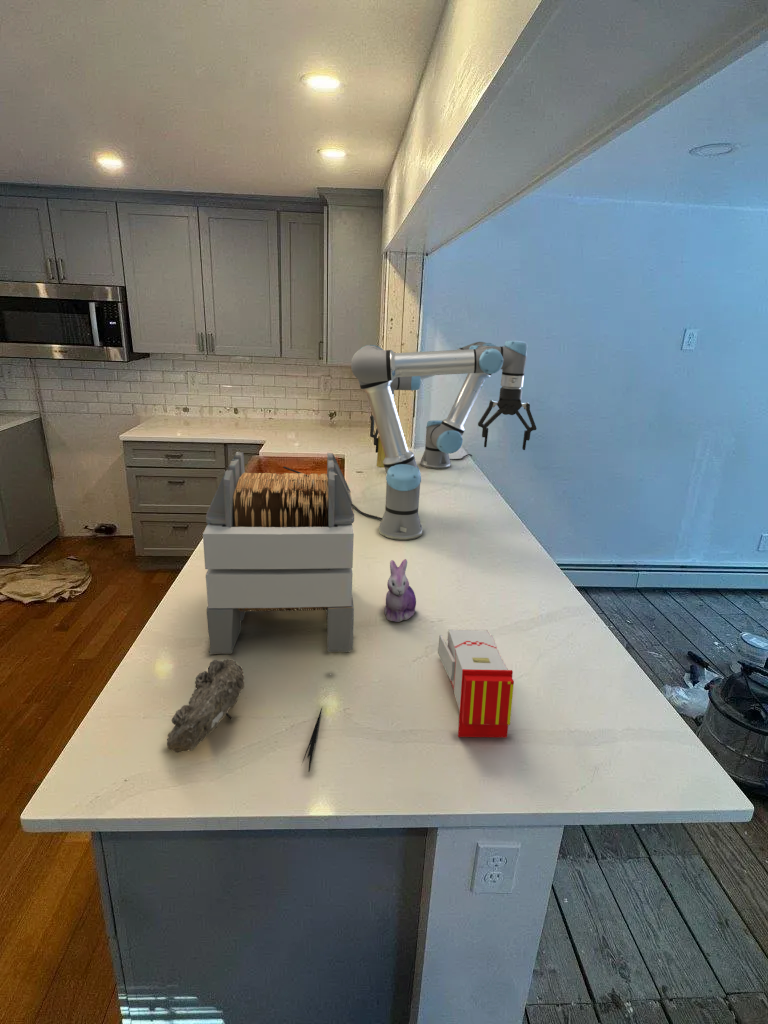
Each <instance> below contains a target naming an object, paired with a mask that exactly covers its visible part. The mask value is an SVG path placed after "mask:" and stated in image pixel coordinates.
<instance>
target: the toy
mask: <svg viewBox="0 0 768 1024" xmlns="http://www.w3.org/2000/svg"><path fill="white" fill-rule="evenodd" d="M446 640H447V643H446V641H445V639H444V636H443V635H442V634H439V637H438V646H437V656H438V657H439V659H440V661H441V663H442V666H443V668H444V670H445V672H446V674H447V677H448V679H449V681H450V684H451V687H452V690H453V693H454V697H455V701H456V705H457V708H458V711H459V714H458V715H459V716H458V730H457V731H458V732H457V737H458V738H508V731H509V726H510V725H511V717H512V707H513V697H514V696H513V695H514V684H515V680H514V679H513V673H514V671H513V670H512V669H508V667H507V665H506V662H505V661H504V659H503V658H502V655H501V653H500V651H499V649H498V647H497V643H496V639H495V637H494V635H493V634H491V632H490V631H489V629H467V628H466V629H465V628H463V629H461V628H460V629H459V628H448V630H447V639H446Z"/></svg>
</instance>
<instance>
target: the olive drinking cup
mask: <svg viewBox="0 0 768 1024" xmlns="http://www.w3.org/2000/svg"><path fill="white" fill-rule="evenodd" d="M377 438H378V452H377V453H376V465H375V466H376V467H377V468H384V464H383V461H384V459H385V453H384V450H383V446H382V443H381V440H380V436H379V435H377ZM384 469H385V468H384Z"/></svg>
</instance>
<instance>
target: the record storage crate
mask: <svg viewBox="0 0 768 1024" xmlns="http://www.w3.org/2000/svg"><path fill="white" fill-rule="evenodd" d="M244 455H245V454H244V451H242V452H241V451H236V452H235V454H234V456H233V458H232V459H230V463H229V465H228V467H227V469H226V470H224V473H223V475H222V478H221V479H220V482H219V484H218V487H217V489H216V491H215V494H214V495H213V497H212V500H211V502H210V505H209V507H208V509H207V511H206V515H205V523H206V524H207V525H206V527H205V529H204V531H203V533H202V543H203V558H204V569H205V570H206V573H205V584H206V587H205V588H206V598H207V599H206V601H207V607H206V623H207V634H208V641H209V642H208V643H209V650H208V653H209V655H216V654H217V655H218V654H221V655H222V654H223V655H226V654H227V655H228V654H230V655H231V654H232V653H233V650H234V648H235V647H236V643H237V641H238V638H239V636H240V634H241V630H242V626H241V625H242V623H241V622H243V621H244V618H245V615H246V612H272V611H273V612H279V611H280V612H284V611H286V612H288V611H289V612H291V611H292V612H293V611H294V612H295V611H303V612H304V611H322V610H323V611H326V636H327V637H326V641H327V645H326V646H327V652H329V653H330V652H332V653H333V652H343V653H349V652H351V651H352V650H354V617H355V616H354V614H355V607H354V598H353V575H354V573H353V566H354V563H353V562H354V537H355V536H354V535H355V532H354V527H353V524H354V522H355V511H354V507H353V505H354V504H353V500H352V495H351V489H350V487H349V485H348V483H347V480H346V479H345V476H344V474H343V472H342V470H341V467H340V465H339V463H338V461H337V459H336V457H335V455H334V453H333V452H327V453H326V456H327V457H326V468H327V469H326V473H320V474H318V473H307V474H306V473H303V472H301V473H296V472H292V473H291V472H290V473H288V472H283V473H276V472H273V473H271V472H263V473H262V472H259V473H258V472H253V473H252V472H245V468H246V467H245V456H244ZM306 475H307V477H306ZM308 475H309V477H308ZM352 504H353V505H352Z"/></svg>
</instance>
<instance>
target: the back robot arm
mask: <svg viewBox="0 0 768 1024" xmlns="http://www.w3.org/2000/svg"><path fill="white" fill-rule="evenodd" d="M472 345H481V346H497V347H499V346H498V345H496V344H495V343H491V342H484V341H476V342H473V343H470V344H467V345H465V346H462V347H459V348H457V349H456V350H467V349H469V348H470V346H472ZM435 376H436V375H428V376H409V377H396V378H395V379H394V380H393V381H392V383H391V385H390V388H391V391H392V395H393V398H394V399H395V391H411V392H412V391H418V390H420V388H421V383H422V380H425V379H428V378H431V377H435ZM491 377H492V374H487V373H467V375H466V377H465V378H464V381H463V383H462V386H461V388H460V390H459V392H458V394H457V396H456V398H455V400H454V402H453V405H452V407H451V409H450V411H449V413H448V416H447V417H446V418H445V419H441V420H439V419H438V420H437V419H436V420H434V419H433V420H428V421H427V422H426V427H425V428H426V429H425V430H426V431H425V433H426V434H425V444H424V445H425V447H424V451H423V453H422V456H421V458H420V465H421V466H422V467H424V468H426V469H433V470H444V469H449V468H450V467H451V461H462V460H464V458H466V457H468V456H470V457H473V455H472V454H471V453H467V454H465V455H463V456H462V457H461V458H450V454H454V453H456V452H458V451H459V450H460V449H461V448H462V445H463V441H464V440H463V436H464V433H465V431H466V430H465V427H464V426H465V423H466V421H467V419H468V417H469V415H470V414H471V411H472V409H473V406H474V404H475V403H476V400H477V399H478V397H479V394H480V392H481V390H482V388H483V386H484V384H485V381H486V380H487V379H489V378H491ZM369 419H370V429H369V437H370V438H372V439H373V446H375V454H377V453H378V436H379V433H378V430H377V428H376V429H375V419H374V416H373V414H372V415H370V416H369ZM374 430H375V432H374Z"/></svg>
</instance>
